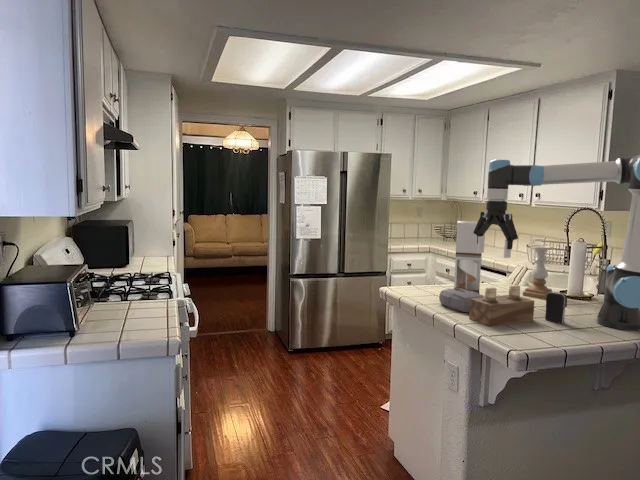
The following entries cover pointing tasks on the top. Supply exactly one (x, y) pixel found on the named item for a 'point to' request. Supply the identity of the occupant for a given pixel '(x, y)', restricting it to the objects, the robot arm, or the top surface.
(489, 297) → the outer peg
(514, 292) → the inner peg
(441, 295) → the soft grey pack
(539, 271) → the candle holder
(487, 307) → the collar block
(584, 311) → the top surface
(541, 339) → the top surface
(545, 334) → the top surface
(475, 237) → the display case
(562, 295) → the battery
